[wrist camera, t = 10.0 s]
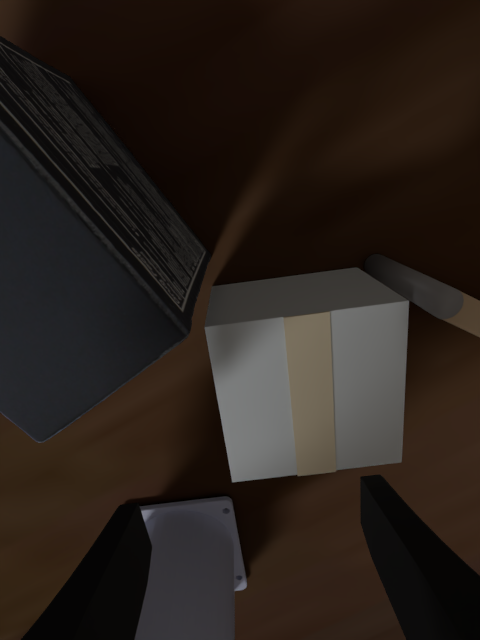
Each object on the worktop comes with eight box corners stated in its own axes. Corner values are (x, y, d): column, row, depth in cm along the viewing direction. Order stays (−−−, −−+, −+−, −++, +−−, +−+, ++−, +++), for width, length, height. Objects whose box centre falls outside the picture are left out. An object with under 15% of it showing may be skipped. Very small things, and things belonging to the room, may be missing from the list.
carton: (358, 391, 22) (402, 463, 16) (231, 407, 22) (232, 484, 17) (356, 267, 19) (410, 301, 13) (212, 286, 19) (204, 328, 14)
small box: (-26, 166, 17) (-375, 139, 7) (67, 70, 16) (-202, -122, 6) (127, 326, 20) (30, 458, 10) (216, 256, 19) (200, 333, 9)
